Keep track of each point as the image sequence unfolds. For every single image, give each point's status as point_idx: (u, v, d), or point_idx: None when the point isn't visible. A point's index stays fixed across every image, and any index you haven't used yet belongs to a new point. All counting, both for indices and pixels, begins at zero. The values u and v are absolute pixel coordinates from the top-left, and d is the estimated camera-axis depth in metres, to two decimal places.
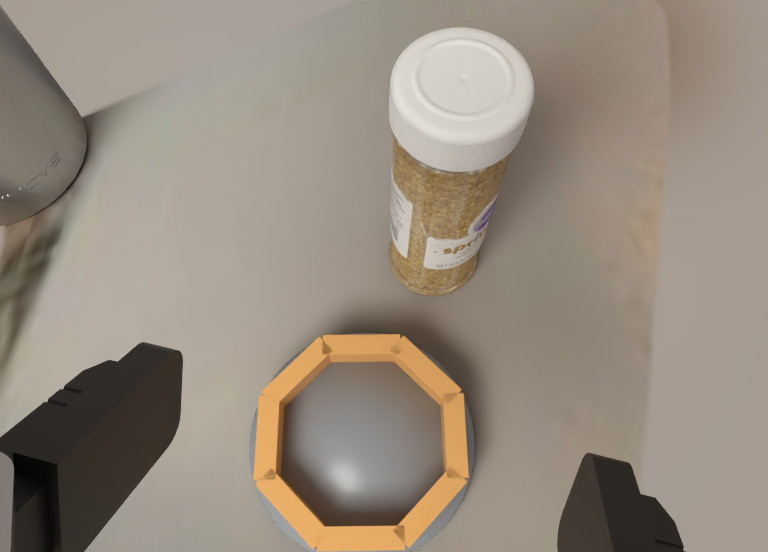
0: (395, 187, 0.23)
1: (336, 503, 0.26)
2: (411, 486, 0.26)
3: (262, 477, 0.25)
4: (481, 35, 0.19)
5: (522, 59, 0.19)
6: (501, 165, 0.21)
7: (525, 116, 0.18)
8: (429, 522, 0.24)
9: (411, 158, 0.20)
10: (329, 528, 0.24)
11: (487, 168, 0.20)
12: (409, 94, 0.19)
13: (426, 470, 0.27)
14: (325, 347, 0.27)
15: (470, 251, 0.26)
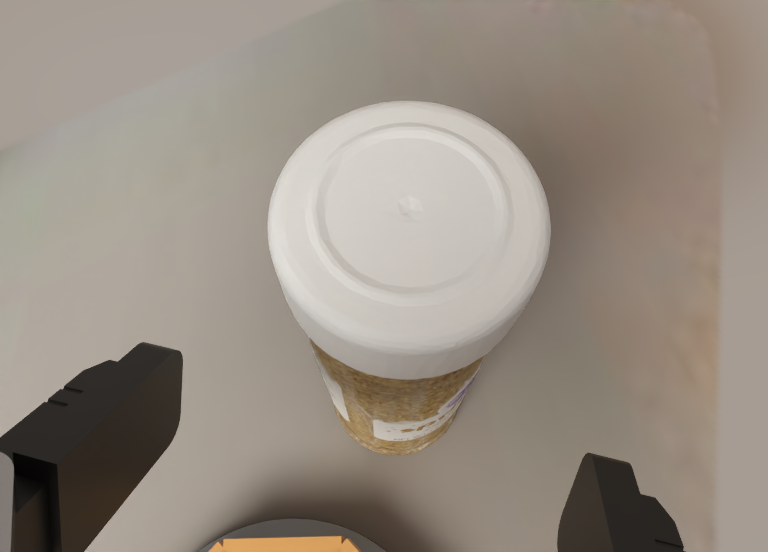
0: (313, 352, 0.14)
1: None
2: None
3: None
4: (447, 118, 0.10)
5: (526, 166, 0.10)
6: None
7: (534, 288, 0.09)
8: None
9: None
10: None
11: None
12: (299, 246, 0.09)
13: None
14: None
15: (444, 419, 0.17)
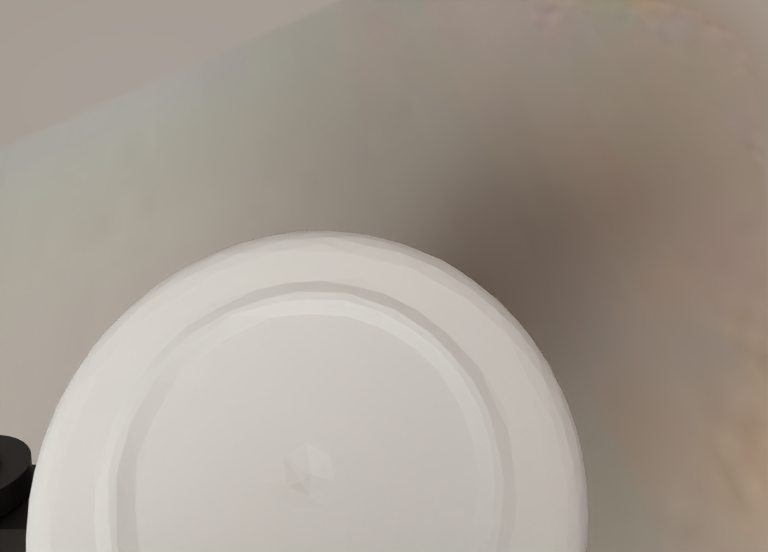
0: None
1: None
2: None
3: None
4: (390, 272, 0.05)
5: (540, 375, 0.05)
6: None
7: None
8: None
9: None
10: None
11: None
12: None
13: None
14: None
15: None
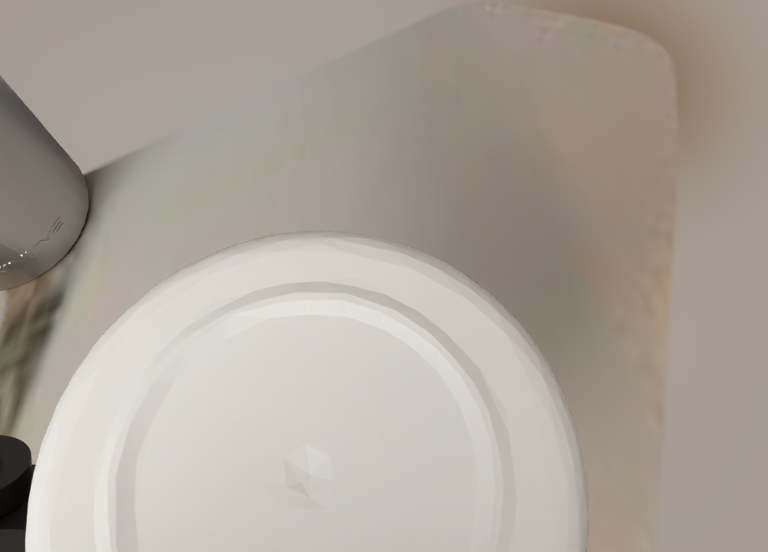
0: None
1: None
2: None
3: None
4: (390, 272, 0.05)
5: (540, 376, 0.05)
6: None
7: None
8: None
9: None
10: None
11: None
12: None
13: None
14: None
15: None
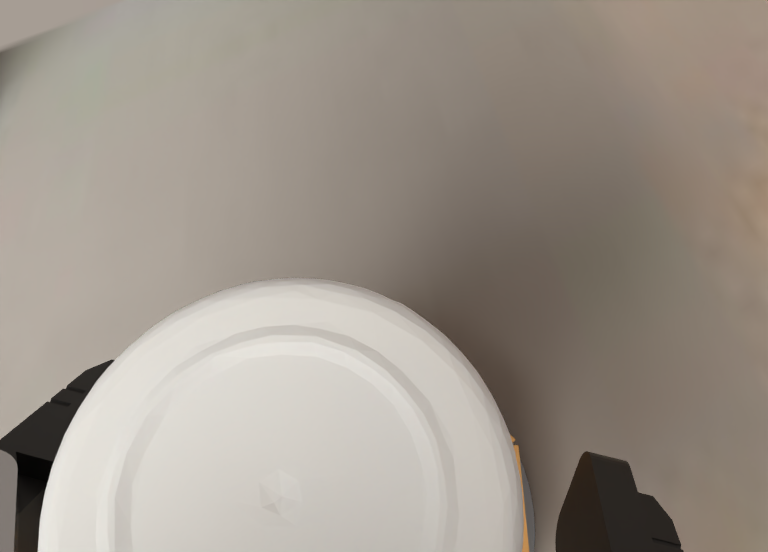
0: None
1: None
2: None
3: None
4: (353, 316, 0.06)
5: (483, 408, 0.06)
6: None
7: None
8: None
9: None
10: None
11: None
12: None
13: None
14: None
15: None
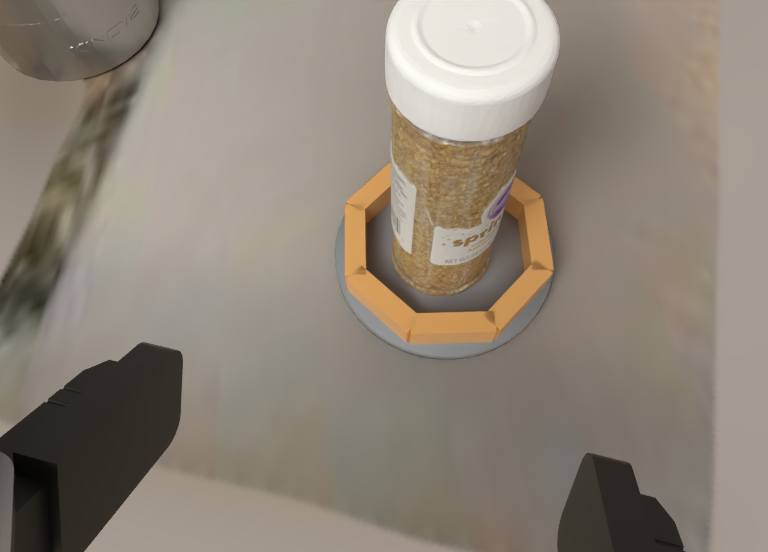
0: (395, 168, 0.20)
1: (422, 304, 0.27)
2: (494, 288, 0.27)
3: (353, 273, 0.26)
4: None
5: (544, 3, 0.16)
6: (520, 135, 0.18)
7: (550, 69, 0.15)
8: (518, 308, 0.25)
9: (413, 128, 0.17)
10: (421, 314, 0.25)
11: (504, 137, 0.17)
12: (409, 46, 0.15)
13: (508, 275, 0.27)
14: None
15: (483, 243, 0.23)
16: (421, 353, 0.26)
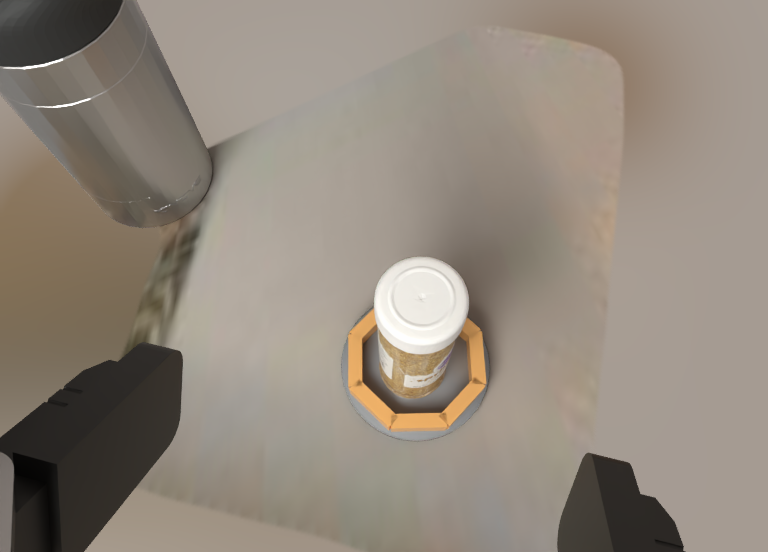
0: (380, 345, 0.33)
1: (400, 403, 0.40)
2: (448, 392, 0.40)
3: (354, 384, 0.39)
4: (434, 264, 0.29)
5: (461, 281, 0.29)
6: None
7: (462, 323, 0.28)
8: (462, 410, 0.38)
9: None
10: (398, 414, 0.38)
11: None
12: (386, 310, 0.28)
13: (458, 382, 0.41)
14: None
15: (437, 376, 0.36)
16: (398, 438, 0.39)
